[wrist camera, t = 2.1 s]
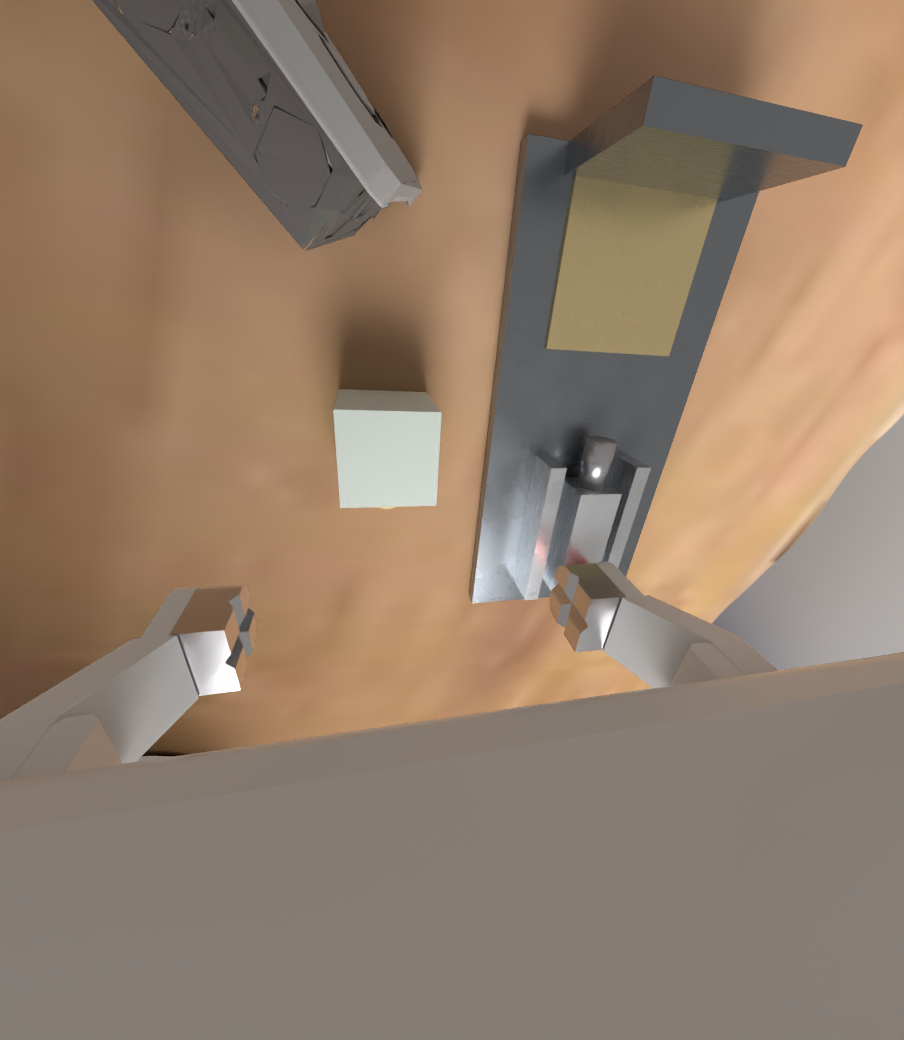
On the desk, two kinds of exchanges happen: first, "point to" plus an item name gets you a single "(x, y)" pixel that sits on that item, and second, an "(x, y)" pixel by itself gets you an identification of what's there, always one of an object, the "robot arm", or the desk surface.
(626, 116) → the press
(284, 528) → the desk surface
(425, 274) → the desk surface
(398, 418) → the block
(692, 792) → the robot arm
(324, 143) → the electrical switch
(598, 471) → the ram
